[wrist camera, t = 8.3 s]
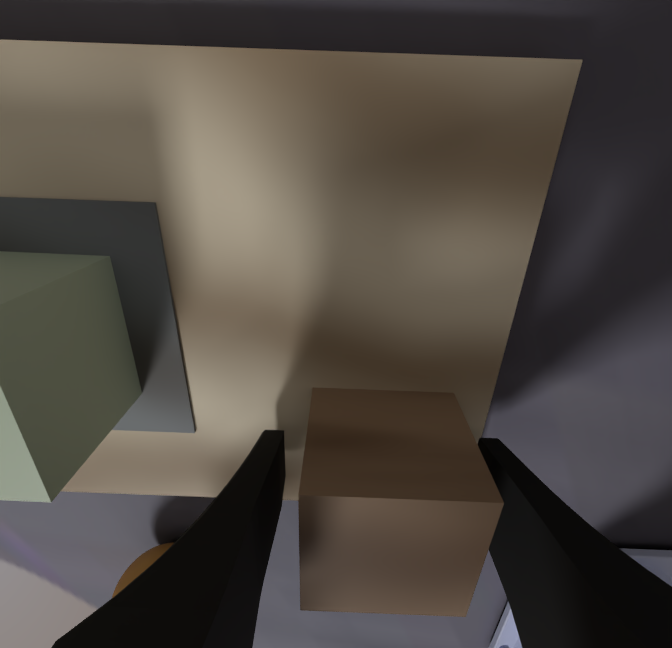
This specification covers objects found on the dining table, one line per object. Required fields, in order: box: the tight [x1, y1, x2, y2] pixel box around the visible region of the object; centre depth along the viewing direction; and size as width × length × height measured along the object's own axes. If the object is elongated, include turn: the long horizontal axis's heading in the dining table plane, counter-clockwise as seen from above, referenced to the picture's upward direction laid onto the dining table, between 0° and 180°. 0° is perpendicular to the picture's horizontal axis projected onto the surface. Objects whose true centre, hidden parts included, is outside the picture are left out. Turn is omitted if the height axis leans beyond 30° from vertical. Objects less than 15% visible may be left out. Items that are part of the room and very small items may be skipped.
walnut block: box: [298, 387, 504, 617], centre depth 11 cm, size 4×4×4 cm
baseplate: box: [0, 40, 583, 500], centre depth 11 cm, size 14×18×1 cm
